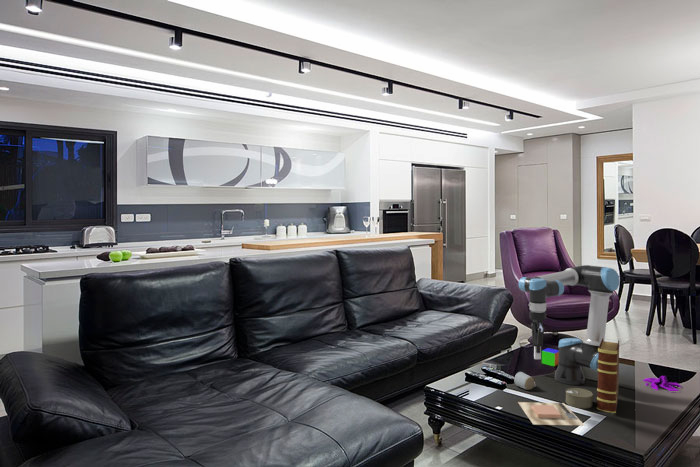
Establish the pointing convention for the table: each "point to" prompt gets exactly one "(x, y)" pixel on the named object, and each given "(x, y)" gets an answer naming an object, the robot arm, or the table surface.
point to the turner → (568, 414)
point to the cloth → (661, 383)
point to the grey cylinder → (524, 381)
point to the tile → (545, 411)
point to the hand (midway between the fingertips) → (537, 358)
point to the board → (549, 421)
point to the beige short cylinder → (579, 397)
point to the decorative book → (608, 376)
